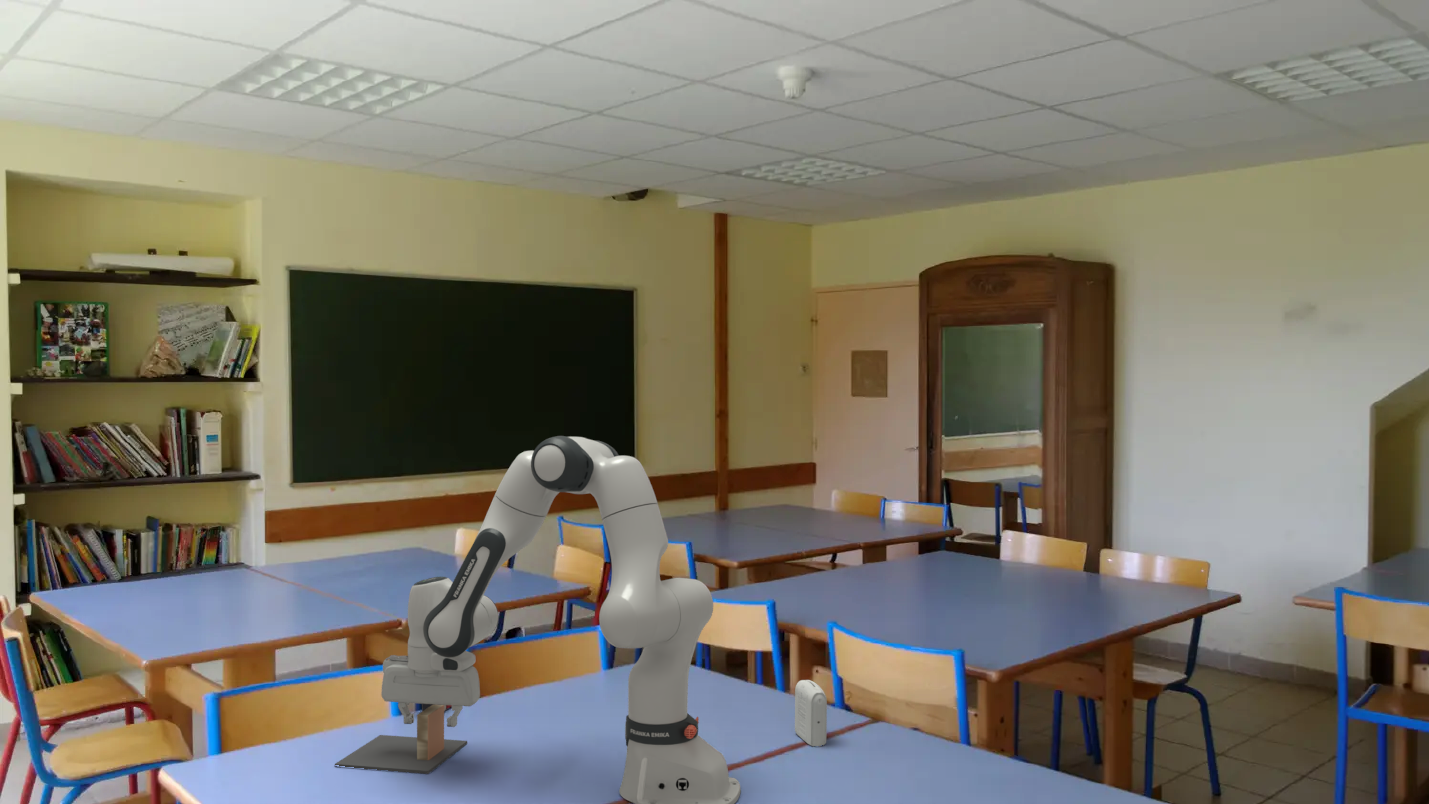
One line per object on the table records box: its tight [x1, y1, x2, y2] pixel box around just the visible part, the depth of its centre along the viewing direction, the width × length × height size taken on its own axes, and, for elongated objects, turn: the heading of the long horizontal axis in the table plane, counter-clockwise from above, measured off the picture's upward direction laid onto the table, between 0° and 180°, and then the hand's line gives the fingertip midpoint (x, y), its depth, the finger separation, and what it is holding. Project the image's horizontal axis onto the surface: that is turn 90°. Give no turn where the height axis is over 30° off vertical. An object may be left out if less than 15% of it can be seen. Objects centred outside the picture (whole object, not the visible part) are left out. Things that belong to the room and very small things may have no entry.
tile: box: [416, 705, 445, 760], centre depth 214 cm, size 2×7×9 cm, turn 169°
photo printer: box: [794, 679, 828, 747], centre depth 225 cm, size 10×4×12 cm, turn 17°
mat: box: [334, 734, 468, 775], centre depth 215 cm, size 20×18×1 cm
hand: (430, 724), depth 214 cm, fingers open, 8 cm apart
